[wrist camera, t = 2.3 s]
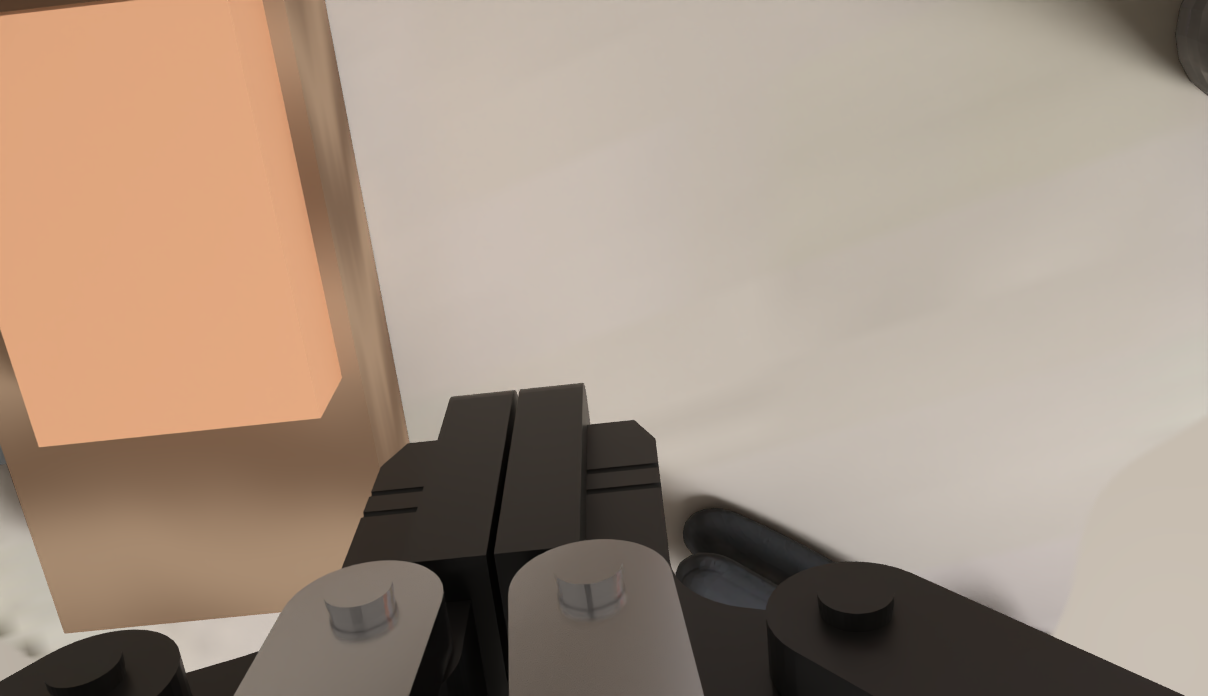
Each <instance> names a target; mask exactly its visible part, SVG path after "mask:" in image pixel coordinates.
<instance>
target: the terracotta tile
mask: <svg viewBox="0 0 1208 696" xmlns="http://www.w3.org/2000/svg"><path fill="white" fill-rule="evenodd" d="M0 330H1V333H2V336H3V339H4V342H5V345H6V348H7V351H8V354H9V357H10V360H11V364H12V367H13V370H14V373H15V376H16V379H17V382H18V385H19V388H20V391H21V394H22V397H23V400H24V403H25V406H26V409H27V412H28V416H29V419H30V422H31V425H32V428H33V431H34V434H35V437H36V440H37V443H38V446H39V447H47V446H57V445H66V444H76V443H86V442H95V441H105V440H115V439H124V438H134V437H144V436H153V435H163V434H173V433H182V432H192V431H202V430H211V429H221V428H231V427H240V426H250V425H260V424H269V423H279V422H288V421H298V420H308V419H317V418H321V417H322V415H323V413H324V411H325V409H326V407H327V405H328V404H329V402H330V400H331V398H332V396H333V394H334V392H335V390H336V388H337V387H338V385H339V383H340V381H341V379H342V375H341V371H340V366H339V361H338V356H337V352H336V347H335V342H334V337H333V333H332V328H331V323H330V318H329V314H328V309H327V304H326V300H325V295H324V290H323V285H322V281H321V276H320V271H319V266H318V262H317V257H316V252H315V247H314V243H313V238H312V233H311V228H310V224H309V219H308V214H307V209H306V205H305V200H304V195H303V191H302V186H301V181H300V176H299V172H298V167H297V162H296V157H295V153H294V148H293V143H292V138H291V134H290V129H289V124H288V119H287V115H286V110H285V105H284V100H283V96H282V91H281V86H280V82H279V77H278V72H277V67H276V63H275V58H274V53H273V48H272V44H271V39H270V34H269V29H268V25H267V20H266V15H265V10H264V6H263V1H262V0H102V1H93V2H85V3H76V4H67V5H59V6H50V7H42V8H33V9H24V10H16V11H7V12H0Z"/></svg>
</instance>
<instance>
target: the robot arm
mask: <svg viewBox="0 0 1208 696" xmlns="http://www.w3.org/2000/svg"><path fill="white" fill-rule="evenodd" d="M363 515H364V517H362V518H361V519H360V522H359V524H358V527H357V530H356V532H355V535H354V537H353V540H352V542H351V545H350V548H349V550H348V553H347V555H346V558H345V561H344V563H343V566H342V568H341V569H339V570H336V571H334V572H331V573H329V574H327V575H325V576H322V577H320V578H318V579H316V580H315V581H313V582H311V583H310V584H308V585H307V586H305V587H304V588H303V589H301V590H300V591H299V592H297V593H296V594H295V595H294V596H293V597H292V598H291V599H290V600H289V601H288V603H287V604H286V605H285V607H284V608H283V610H282V612H281V613H280V615H279V617H278V619H277V620H276V622H275V624H274V626H273V627H272V629H271V631H270V633H269V634H268V636H267V638H266V640H265V641H264V643H263V645H262V647H261V648H260V650H259V651H258V652H255V653H252V654H249V655H246V656H243V657H239V658H236V659H233V660H229V661H226V662H222V663H219V664H216V665H212V666H209V667H205V668H202V669H199V670H195V671H192V672H188V673H186V672H185V669H184V665H183V662H182V659H181V655H180V652H179V648H178V646H177V645H176V643H175V642H174V641H173V640H172V639H170V638H169V637H168V636H166V635H163V634H161V633H158V632H154V631H148V630H121V631H114V632H108V633H104V634H100V635H96V636H92V637H88V638H86V639H83V640H80V641H77V642H74V643H72V644H69V645H67V646H65V647H62V648H60V649H58V650H56V651H54V652H52V653H50V654H48V655H46V656H45V657H43V658H41V659H39V660H37V661H36V662H34V663H32V664H30V665H29V666H27V667H25V668H23V669H22V670H20V671H18V672H16V673H14V674H13V675H11V676H9V677H7V678H6V679H4V680H2V681H0V696H1184V695H1182V694H1180V693H1178V692H1175V691H1173V690H1171V689H1169V688H1166V687H1164V686H1162V685H1159V684H1158V683H1155V682H1153V681H1151V680H1149V679H1146V678H1144V677H1142V676H1140V675H1137V674H1135V673H1133V672H1131V671H1128V670H1126V669H1124V668H1122V667H1120V666H1117V665H1115V664H1113V663H1111V662H1108V661H1106V660H1103V659H1102V658H1100V657H1097V656H1095V655H1093V654H1091V653H1088V652H1086V651H1084V650H1082V649H1079V648H1077V647H1075V646H1073V645H1070V644H1068V643H1066V642H1064V641H1062V640H1059V639H1057V638H1055V637H1053V636H1050V635H1048V634H1046V633H1044V632H1042V631H1039V630H1037V629H1035V628H1033V627H1030V626H1028V625H1026V624H1024V623H1022V622H1019V621H1017V620H1015V619H1013V618H1010V617H1008V616H1006V615H1004V614H1001V613H999V612H997V611H995V610H993V609H990V608H988V607H986V606H984V605H981V604H979V603H977V602H975V601H972V600H970V599H968V598H966V597H964V596H961V595H959V594H957V593H955V592H952V591H950V590H948V589H946V588H943V587H941V586H939V585H937V584H935V583H932V582H930V581H928V580H926V579H923V578H921V577H919V576H917V575H915V574H912V573H910V572H907V571H904V570H902V569H899V568H895V567H891V566H888V565H883V564H876V563H869V562H838V563H830V564H824V565H820V566H815V567H812V568H809V569H806V570H803V571H800V572H798V573H796V574H794V575H793V576H791V577H789V578H787V579H786V580H785V581H783V582H782V583H780V584H779V585H778V586H777V588H776V589H775V590H774V591H773V592H772V594H771V595H770V597H769V599H768V602H767V605H766V610H762V609H753V608H744V607H738V606H731V605H727V604H723V603H719V602H715V601H713V600H710V599H707V598H705V597H702V596H700V595H699V594H697V593H695V592H693V591H691V590H690V589H689V588H687V587H686V586H685V585H683V584H682V583H681V582H680V580H679V579H678V578H677V577H676V576H675V574H674V572H673V570H672V568H671V564H670V559H669V550H668V542H667V533H666V525H665V516H664V508H663V499H662V491H661V483H660V474H659V466H658V457H657V449H656V440H655V438H654V437H653V436H652V435H651V434H649V433H648V432H647V431H646V430H645V429H644V428H643V427H641V426H640V425H639V424H638V423H637V422H636V421H635V420H630V421H620V422H610V423H601V424H591V425H590V419H589V411H588V403H587V396H586V390H585V385H584V383H578V384H568V385H559V386H549V387H539V388H530V389H520V391H519V396H518V395H517V392H516V391H515V390H512V391H502V392H493V393H483V394H473V395H464V396H454V397H451V398H450V400H449V403H448V407H447V410H446V413H445V417H444V420H443V424H442V427H441V430H440V434H439V437H438V440H436V441H426V442H417V443H407V444H406V445H405V446H404V447H403V448H402V449H401V450H399V451H398V452H397V453H396V454H395V455H394V456H393V457H391V458H390V459H389V460H388V461H387V462H386V463H385V464H383V465H382V466H381V467H380V470H379V473H378V475H377V478H376V480H375V483H374V486H373V488H372V491H371V497H369V498H368V501H367V504H366V506H365V509H364V511H363Z"/></svg>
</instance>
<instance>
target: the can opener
mask: <svg viewBox="0 0 1208 696" xmlns="http://www.w3.org/2000/svg"><path fill="white" fill-rule="evenodd" d="M683 538H684V542H685V544H686V546H687V547H688V549H689V550H690V551H691V552H692V553H693V555H691V556H689V557H688V558H686V559H684V560H683V561H682V562H681V563H680V564H679V566H678V568H677V571H676V575H675V576H676V577H677V578H678V579H679V580H680V582H681V583H682V584H683V585H685V586H686V587H687V588H689V589H690V590H691V591H693V592H695V593H697V594H699V595H700V596H702V597H705V598H707V599H710V600H713V601H715V602H719V603H723V604H727V605H731V606H738V607H744V608H753V609H762V610H766V605H767V602H768V599H769V597H770V595H771V594H772V592H773V591H774V590H775V589H776V588H777V586H778V585H779V584H780V583H782V582H783V581H785V580H786V579H787V578H789V577H791V576H793V575H794V574H796V573H798V572H800V571H803V570H806V569H809V568H812V567H815V566H820V565H824V564H830V563H835V562H833V561H831V560H829V559H828V558H826V557H824V556H822V555H820V554H818V553H816V552H814V551H813V550H811V549H809V548H807V547H806V546H804V545H802V544H800V543H798V542H796V541H794V540H792V539H790V538H788V537H786V536H784V535H782V534H780V533H778V532H776V531H774V530H772V529H770V528H768V527H766V526H764V525H761V524H759V523H757V522H755V521H753V520H750V519H748V518H745V517H744V516H742V515H740V514H737V513H735V512H732V511H729V510H724V509H716V508H711V509H705V510H702V511H699V512H697V513H695V514H694V515H692V516H691V517H690V518H689V519H688V520H687V522H686V523H685V526H684V530H683Z"/></svg>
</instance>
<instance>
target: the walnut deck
mask: <svg viewBox="0 0 1208 696" xmlns="http://www.w3.org/2000/svg"><path fill="white" fill-rule="evenodd" d="M93 1H102V0H0V12H7V11H16V10H24V9H33V8H42V7H50V6H59V5H67V4H76V3H85V2H93ZM262 1H263V6H264V10H265V15H266V20H267V25H268V29H269V34H270V39H271V44H272V48H273V53H274V58H275V63H276V67H277V72H278V77H279V82H280V86H281V91H282V96H283V100H284V105H285V110H286V115H287V119H288V124H289V129H290V134H291V138H292V143H293V148H294V153H295V157H296V162H297V167H298V172H299V176H300V181H301V186H302V191H303V195H304V200H305V205H306V209H307V214H308V219H309V224H310V228H311V233H312V238H313V243H314V247H315V252H316V257H317V262H318V266H319V271H320V276H321V281H322V285H323V290H324V295H325V300H326V304H327V309H328V314H329V318H330V323H331V328H332V333H333V337H334V342H335V347H336V352H337V356H338V361H339V366H340V371H341V375H342V379H341V381H340V383H339V385H338V387H337V388H336V390H335V392H334V394H333V396H332V398H331V400H330V402H329V404H328V405H327V407H326V409H325V411H324V413H323V415H322V417H321V418H317V419H308V420H298V421H288V422H279V423H269V424H260V425H250V426H240V427H231V428H221V429H211V430H202V431H192V432H182V433H173V434H163V435H153V436H144V437H134V438H124V439H115V440H105V441H95V442H86V443H76V444H66V445H57V446H47V447H39V446H38V443H37V440H36V437H35V434H34V431H33V428H32V425H31V422H30V419H29V416H28V412H27V409H26V406H25V403H24V400H23V397H22V394H21V391H20V388H19V385H18V382H17V379H16V376H15V373H14V370H13V367H12V364H11V360H10V357H9V354H8V351H7V348H6V345H5V342H4V339H3V336H2V333H1V330H0V445H1V448H2V451H3V454H4V457H5V460H6V463H7V466H8V469H9V472H10V475H11V478H12V481H13V484H14V487H15V490H16V492H17V495H18V498H19V501H20V504H21V507H22V510H23V513H24V516H25V519H26V522H27V525H28V528H29V531H30V534H31V536H32V539H33V542H34V545H35V548H36V551H37V554H38V557H39V560H40V563H41V566H42V569H43V572H44V575H45V578H46V581H47V583H48V586H49V589H50V592H51V595H52V598H53V601H54V604H55V607H56V610H57V613H58V616H59V619H60V622H61V625H62V628H63V630H64V633H74V632H84V631H94V630H105V629H115V628H125V627H135V626H145V625H155V624H166V623H176V622H186V621H196V620H206V619H217V618H227V617H237V616H247V615H257V614H267V613H278V612H282V610H283V608H284V607H285V605H286V604H287V603H288V601H289V600H290V599H291V598H292V597H293V596H294V595H295V594H296V593H297V592H299V591H300V590H301V589H303V588H304V587H305V586H307V585H308V584H310V583H311V582H313V581H315V580H316V579H318V578H320V577H322V576H325V575H327V574H329V573H331V572H334V571H336V570H339V569H341V568H342V566H343V563H344V561H345V558H346V555H347V553H348V550H349V548H350V545H351V542H352V540H353V537H354V535H355V532H356V530H357V527H358V524H359V522H360V519H361V518H362V517H364V515H363V511H364V509H365V506H366V504H367V501H368V498H369V497H371V491H372V488H373V486H374V483H375V480H376V478H377V475H378V473H379V470H380V467H381V466H382V465H383V464H385V463H386V462H387V461H388V460H389V459H390V458H391V457H393V456H394V455H395V454H396V453H397V452H398V451H399V450H401V449H402V448H403V447H404V446H405V445H406V444H407V443H409V438H408V433H407V427H406V422H405V417H404V412H403V406H402V401H401V396H400V391H399V386H398V380H397V375H396V370H395V365H394V359H393V354H392V349H391V344H390V339H389V333H388V328H387V323H386V318H385V312H384V307H383V302H382V297H381V292H380V286H379V281H378V276H377V271H376V265H375V260H374V255H373V250H372V245H371V239H370V234H369V229H368V224H367V218H366V213H365V208H364V203H363V198H362V192H361V187H360V182H359V177H358V171H357V166H356V161H355V156H354V151H353V145H352V140H351V135H350V130H349V124H348V119H347V114H346V109H345V104H344V98H343V93H342V88H341V83H340V78H339V72H338V67H337V62H336V57H335V51H334V46H333V41H332V36H331V31H330V25H329V20H328V15H327V10H326V4H325V0H262Z"/></svg>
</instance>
